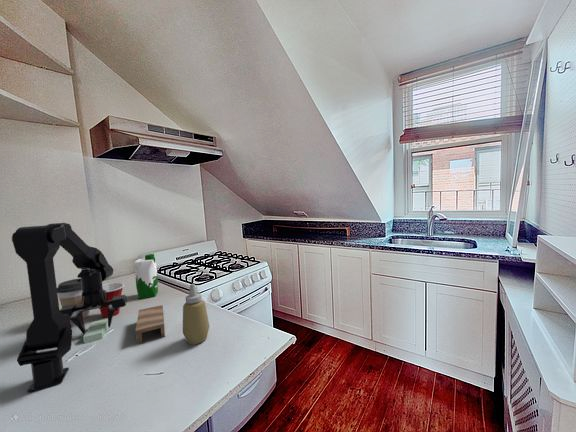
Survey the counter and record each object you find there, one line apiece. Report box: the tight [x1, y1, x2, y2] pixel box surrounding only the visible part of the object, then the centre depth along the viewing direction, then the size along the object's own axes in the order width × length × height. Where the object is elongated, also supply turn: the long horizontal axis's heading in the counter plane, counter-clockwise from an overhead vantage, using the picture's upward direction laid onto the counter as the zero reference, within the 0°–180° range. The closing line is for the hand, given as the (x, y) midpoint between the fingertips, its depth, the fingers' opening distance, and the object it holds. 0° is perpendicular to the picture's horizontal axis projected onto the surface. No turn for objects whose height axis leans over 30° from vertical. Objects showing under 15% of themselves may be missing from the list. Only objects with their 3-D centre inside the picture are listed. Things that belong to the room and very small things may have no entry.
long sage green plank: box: [82, 318, 109, 344], centre depth 89 cm, size 12×5×3 cm, turn 27°
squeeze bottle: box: [182, 283, 210, 345], centre depth 80 cm, size 8×8×18 cm
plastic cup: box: [98, 282, 125, 319], centre depth 104 cm, size 11×11×12 cm
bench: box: [135, 304, 166, 345], centre depth 90 cm, size 18×8×5 cm, turn 27°
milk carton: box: [133, 253, 159, 300], centre depth 124 cm, size 9×9×20 cm
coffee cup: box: [57, 278, 91, 323], centre depth 103 cm, size 11×11×15 cm
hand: (97, 330), depth 89 cm, fingers open, 7 cm apart
